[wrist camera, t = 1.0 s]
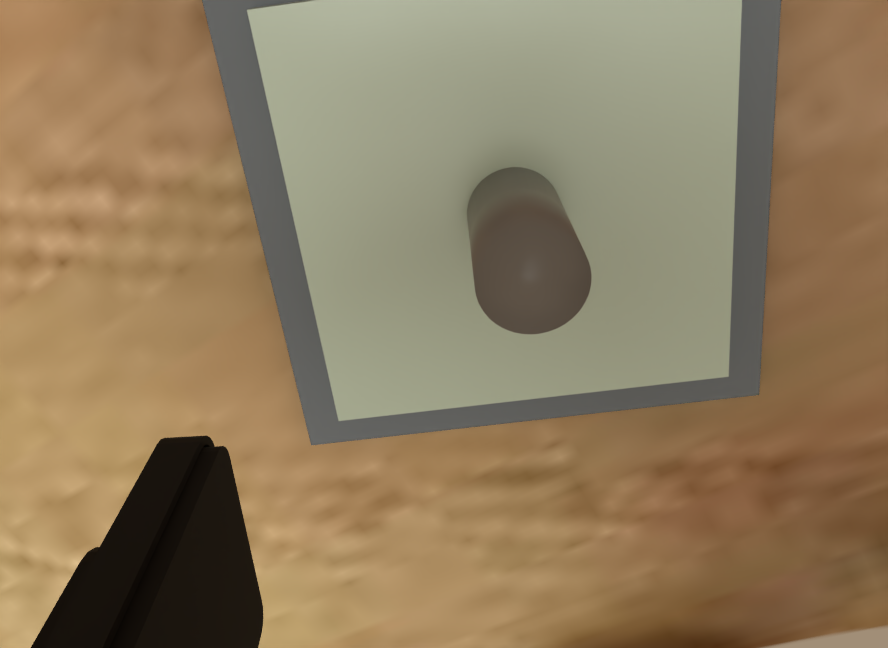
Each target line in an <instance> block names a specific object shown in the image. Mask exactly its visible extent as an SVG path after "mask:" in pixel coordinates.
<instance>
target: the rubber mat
mask: <svg viewBox="0 0 888 648" xmlns="http://www.w3.org/2000/svg"><path fill="white" fill-rule="evenodd" d="M202 1H203V6H204V10H205V14H206V18H207V22H208V26H209V30H210V34H211V38H212V42H213V46H214V50H215V54H216V59H217V63H218V67H219V71H220V75H221V79H222V83H223V87H224V91H225V95H226V99H227V103H228V107H229V112H230V116H231V120H232V124H233V128H234V132H235V136H236V140H237V144H238V148H239V152H240V156H241V160H242V165H243V169H244V173H245V177H246V181H247V185H248V189H249V193H250V197H251V201H252V205H253V209H254V213H255V218H256V222H257V226H258V230H259V234H260V238H261V242H262V246H263V250H264V254H265V258H266V262H267V266H268V270H269V275H270V279H271V283H272V287H273V291H274V295H275V299H276V303H277V307H278V311H279V315H280V319H281V323H282V328H283V332H284V336H285V340H286V344H287V348H288V352H289V356H290V360H291V364H292V368H293V372H294V376H295V381H296V385H297V389H298V393H299V397H300V401H301V405H302V409H303V413H304V417H305V421H306V425H307V429H308V434H309V438H310V442H311V445H318V444H327V443H335V442H344V441H353V440H362V439H371V438H380V437H389V436H398V435H407V434H416V433H424V432H433V431H442V430H451V429H460V428H469V427H478V426H487V425H496V424H504V423H513V422H522V421H531V420H540V419H549V418H558V417H567V416H576V415H584V414H593V413H602V412H611V411H620V410H629V409H638V408H647V407H656V406H665V405H673V404H682V403H691V402H700V401H709V400H718V399H727V398H736V397H745V396H753V395H759V387H760V369H761V351H762V333H763V315H764V298H765V280H766V262H767V244H768V226H769V208H770V190H771V172H772V154H773V136H774V118H775V100H776V82H777V64H778V46H779V28H780V10H781V0H742V13H741V42H740V70H739V98H738V126H737V155H736V183H735V211H734V239H733V268H732V296H731V324H730V352H729V377H722V378H713V379H704V380H695V381H687V382H678V383H669V384H660V385H652V386H643V387H634V388H625V389H616V390H608V391H599V392H590V393H581V394H572V395H564V396H555V397H546V398H537V399H529V400H520V401H511V402H502V403H493V404H485V405H476V406H467V407H458V408H449V409H441V410H432V411H423V412H414V413H405V414H397V415H388V416H379V417H370V418H362V419H353V420H344V421H338V416H337V412H336V407H335V403H334V398H333V394H332V389H331V385H330V380H329V376H328V371H327V367H326V362H325V358H324V353H323V349H322V344H321V340H320V335H319V331H318V327H317V322H316V318H315V313H314V309H313V304H312V300H311V295H310V291H309V286H308V282H307V277H306V273H305V268H304V264H303V259H302V255H301V250H300V246H299V241H298V237H297V232H296V228H295V224H294V219H293V215H292V210H291V206H290V201H289V197H288V192H287V188H286V183H285V179H284V174H283V170H282V165H281V161H280V156H279V152H278V147H277V143H276V138H275V134H274V129H273V125H272V121H271V116H270V112H269V107H268V103H267V98H266V94H265V89H264V85H263V80H262V76H261V71H260V67H259V62H258V58H257V53H256V49H255V44H254V40H253V35H252V31H251V26H250V22H249V18H248V13H247V10H248V9H251V8H255V7H262V6H269V5H276V4H283V3H290V2H297V1H304V0H202Z"/></svg>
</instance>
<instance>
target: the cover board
mask: <svg viewBox="0 0 888 648" xmlns="http://www.w3.org/2000/svg"><path fill="white" fill-rule="evenodd" d="M247 13H248V18H249V22H250V26H251V31H252V35H253V40H254V44H255V49H256V53H257V58H258V62H259V67H260V71H261V76H262V80H263V85H264V89H265V94H266V98H267V103H268V107H269V112H270V116H271V121H272V125H273V129H274V134H275V138H276V143H277V147H278V152H279V156H280V161H281V165H282V170H283V174H284V179H285V183H286V188H287V192H288V197H289V201H290V206H291V210H292V215H293V219H294V224H295V228H296V232H297V237H298V241H299V246H300V250H301V255H302V259H303V264H304V268H305V273H306V277H307V282H308V286H309V291H310V295H311V300H312V304H313V309H314V313H315V318H316V322H317V327H318V331H319V335H320V340H321V344H322V349H323V353H324V358H325V362H326V367H327V371H328V376H329V380H330V385H331V389H332V394H333V398H334V403H335V407H336V412H337V416H338V421H344V420H353V419H362V418H370V417H379V416H388V415H397V414H405V413H414V412H423V411H432V410H441V409H449V408H458V407H467V406H476V405H485V404H493V403H502V402H511V401H520V400H529V399H537V398H546V397H555V396H564V395H572V394H581V393H590V392H599V391H608V390H616V389H625V388H634V387H643V386H652V385H660V384H669V383H678V382H687V381H695V380H704V379H713V378H722V377H729V352H730V324H731V296H732V268H733V239H734V211H735V183H736V155H737V126H738V98H739V70H740V42H741V13H742V0H304V1H297V2H290V3H283V4H276V5H269V6H262V7H255V8H251V9H248V10H247Z"/></svg>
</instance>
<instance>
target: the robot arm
mask: <svg viewBox="0 0 888 648" xmlns="http://www.w3.org/2000/svg"><path fill="white" fill-rule="evenodd" d="M262 626H263V606H262V600H261V595H260V591H259V586H258V582H257V577H256V573H255V568H254V564H253V559H252V555H251V550H250V546H249V541H248V537H247V532H246V528H245V523H244V519H243V514H242V510H241V505H240V501H239V496H238V492H237V487H236V483H235V478H234V474H233V469H232V465H231V460H230V456H229V453H228V450H227V449H226V447H224V446H219V447H214V443H213V441H212V440H211V438H210V437H208V436H193V437H175V438H164V439H161V440H160V441H159V443H158V444H157V445H156V447H155V449H154V451H153V453H152V454H151V456H150V458H149V460H148V462H147V463H146V465H145V467H144V469H143V471H142V472H141V474H140V476H139V478H138V480H137V481H136V483H135V485H134V487H133V489H132V490H131V492H130V494H129V496H128V497H127V499H126V501H125V503H124V505H123V506H122V508H121V510H120V512H119V514H118V515H117V517H116V519H115V521H114V523H113V524H112V526H111V528H110V530H109V532H108V533H107V535H106V537H105V539H104V541H103V542H102V544H101V546H100V547H96V548H94V549H92V550H90V551H89V552H87V554H86V555H85V556H84V558H83V559H82V560H81V562H80V563H79V565H78V567H77V568H76V570H75V572H74V574H73V575H72V577H71V579H70V581H69V582H68V584H67V586H66V588H65V589H64V591H63V593H62V595H61V596H60V598H59V600H58V601H57V603H56V605H55V607H54V608H53V610H52V612H51V614H50V615H49V617H48V619H47V621H46V622H45V624H44V626H43V628H42V629H41V631H40V633H39V634H38V636H37V638H36V640H35V641H34V643H33V645H32V647H31V648H258V645H259V641H260V637H261V633H262Z"/></svg>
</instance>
